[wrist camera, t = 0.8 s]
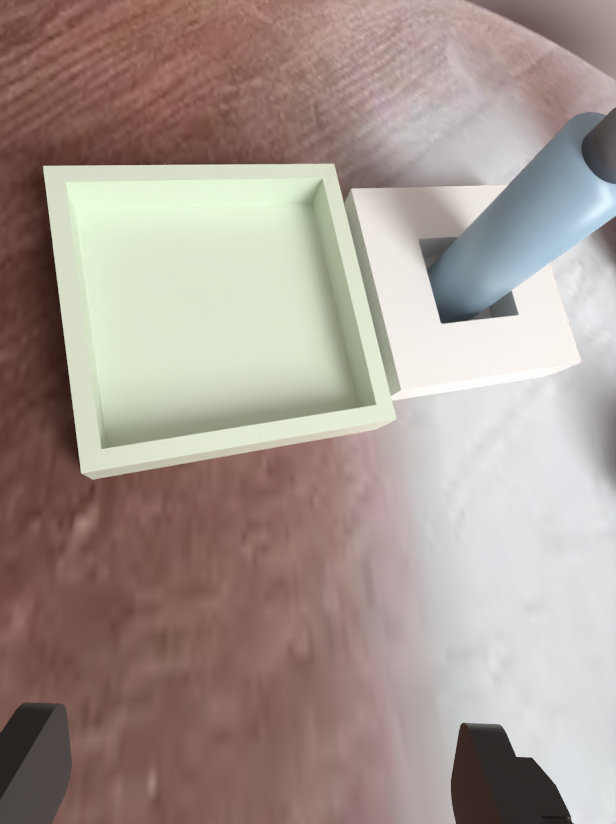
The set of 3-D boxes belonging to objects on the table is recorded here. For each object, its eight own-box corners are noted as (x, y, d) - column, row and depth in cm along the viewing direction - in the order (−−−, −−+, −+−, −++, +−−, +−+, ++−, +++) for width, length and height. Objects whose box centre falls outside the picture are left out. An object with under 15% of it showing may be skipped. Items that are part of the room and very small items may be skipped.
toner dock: (337, 217, 40) (351, 188, 37) (498, 210, 45) (524, 184, 41) (381, 402, 37) (401, 390, 34) (549, 375, 42) (581, 362, 39)
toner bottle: (411, 266, 40) (572, 84, 24) (468, 262, 42) (657, 88, 25) (428, 329, 39) (608, 184, 23) (485, 322, 41) (693, 182, 24)
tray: (57, 203, 35) (42, 165, 31) (320, 196, 40) (334, 163, 37) (92, 479, 31) (81, 473, 28) (375, 429, 37) (396, 419, 33)
